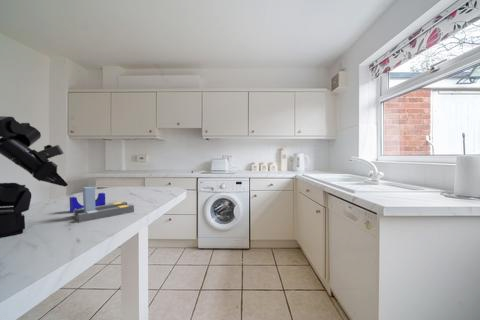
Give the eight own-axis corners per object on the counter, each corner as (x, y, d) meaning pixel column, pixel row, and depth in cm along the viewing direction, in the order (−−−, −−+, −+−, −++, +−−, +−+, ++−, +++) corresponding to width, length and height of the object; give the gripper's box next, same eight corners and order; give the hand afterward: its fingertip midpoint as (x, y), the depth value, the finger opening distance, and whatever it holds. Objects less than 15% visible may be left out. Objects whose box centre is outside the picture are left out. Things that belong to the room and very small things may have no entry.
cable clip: (100, 205, 99) (100, 192, 99) (105, 207, 97) (105, 193, 96) (68, 211, 89) (68, 196, 89) (72, 213, 87) (72, 198, 87)
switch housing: (79, 222, 75) (79, 214, 75) (73, 216, 82) (73, 209, 82) (134, 211, 88) (133, 205, 88) (125, 207, 95) (125, 201, 95)
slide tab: (85, 215, 79) (85, 188, 79) (83, 213, 82) (82, 187, 81) (95, 213, 81) (94, 187, 81) (93, 211, 84) (92, 186, 83)
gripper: (47, 134, 65) (91, 169, 74) (41, 137, 78) (79, 166, 87) (9, 162, 60) (62, 196, 68) (10, 160, 73) (54, 189, 81)
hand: (66, 185), depth 76 cm, fingers closed
